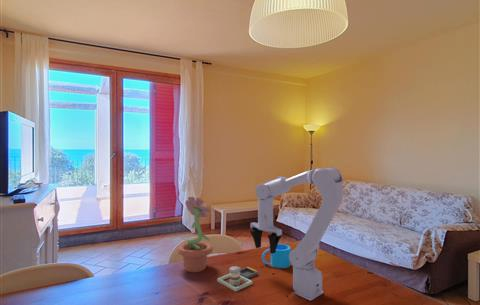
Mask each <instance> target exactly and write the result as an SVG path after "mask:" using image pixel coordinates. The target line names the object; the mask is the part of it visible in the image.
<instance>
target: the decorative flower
mask: <svg viewBox="0 0 480 305" xmlns="http://www.w3.org/2000/svg"><path fill="white" fill-rule="evenodd" d="M204 203H205V201H204V200H203V199H202V198H200V197H195V196H189V197H187V200H186V201H185V206H186V208H187V210H188V211H189V212H190V214H191V215H192V216H194V222H193V223H192V225H191V229H194V228H195V229H196V232H197V234H198V236H197V237H195V238H189V239H187V242H184V243H183V244H181V245H179V246H178V249H177V252H178V254H179V255H180V256H182V257H183V268H184V270H185V271H186V272H188V273H199V272H202V271H205V270H206V267H207V261H208V256H209V255H210V254H212V253H213V246H212V244H210V243H208V242H204V241H202V239H204V240H206V241H209V242H210V239H209V238H208V237H207V236H206V235H205V234H203V230H202V227H201V223H200V218H203V217H204V218H207V217H208V216H209V213H210V212H211V210H210V209H211V208H209V207H207V206H203V204H204ZM183 241H186V238H185V239H184V238H183Z"/></svg>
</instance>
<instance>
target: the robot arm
mask: <svg viewBox="0 0 480 305" xmlns="http://www.w3.org/2000/svg"><path fill="white" fill-rule="evenodd" d="M305 183H308V184H311V185H314V186H315V187H316V188H317V190H318V192H320V195H321V196H322V198H323V201H322V202H321V204H320V206H319V208H318V209H317V212H316V214H315V215H314V218H313V219H312V222H311V223H310V225H309V227H308V228H307V231H306V233H305V235H304V236H303V238H302V239H301V240H300V241H299V242H298V243H297V244H296V247H294V248H293V249H291V250H290V254H289V258H290V264H291V266H292V288H293V290H294V291H292V292H291V293H293V294H295V295H297V296H299V297H301V298H303V299H305V300H307V301H309V302H310V301H313V300H315V299H316V298H318V297H319V296H321V295H322V294H324V291H323V273H322V271H321V270H319V269H318V268H316V267H315V266H316V265H315V261H316V259H317V258H318V253H319V248H320V247H321V246H320V242H321V240H322V239H323V236H324V235H325V233H326V232H327V229H328V227H329V226H330V224H331V223H332V220H333V218H334V217H335V215H336V214H337V212H338V210H339V208H340V206H341V205H342V202H343V183H344V178H343V175H342V174H341V171H340V170H339V169H338V168H336V167H333V166H331V167H330V166H329V167H325V168H323V167H319V168H316V169H311V170H306V171H304V172H302V173H298V174H297V175H293V176H291V177H289V178H287V177H285V176H280V175H279V176H277V177H276V178H275V179H273V180H267V181H266V183H259V184H258V185H257V186H256V187H255V189H254V190H255V191H254V193H255V196H256V197H257V200H258V201H257V203H258V204H257V222H254V221H253V222H250V226H249V227H250V230H249V232H250V234H251V236H252V239H253V242H254V245H255V249H260V248H261V246H262V237H263V232H266V233H270V234H268V235H267V239H268V241H269V249H270V251H269V252H270V255H271V254H273V253H275V252H276V248H277V244H279V242H280V240H281V238H282V235H283V230H282V229H281V228H279V227H276V226H275V225H274V201H275V199H274V198H275V197H276V196H279V195H282V194H286V193H288V192H290V191H291V188H292V187H295V186H298V185H303V184H305Z"/></svg>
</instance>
